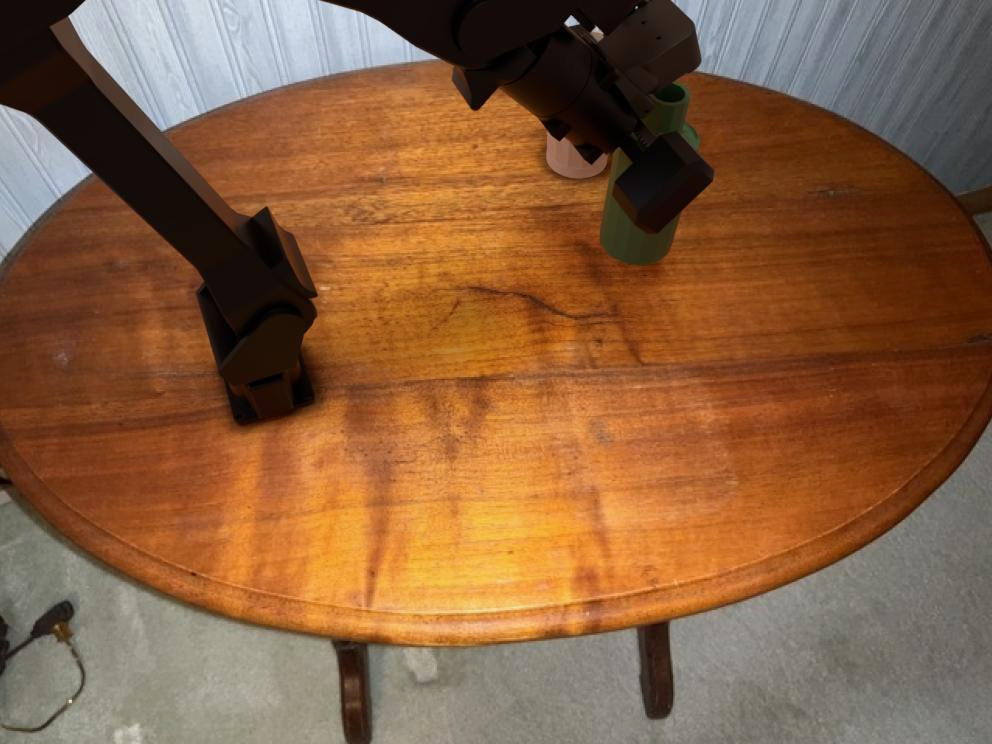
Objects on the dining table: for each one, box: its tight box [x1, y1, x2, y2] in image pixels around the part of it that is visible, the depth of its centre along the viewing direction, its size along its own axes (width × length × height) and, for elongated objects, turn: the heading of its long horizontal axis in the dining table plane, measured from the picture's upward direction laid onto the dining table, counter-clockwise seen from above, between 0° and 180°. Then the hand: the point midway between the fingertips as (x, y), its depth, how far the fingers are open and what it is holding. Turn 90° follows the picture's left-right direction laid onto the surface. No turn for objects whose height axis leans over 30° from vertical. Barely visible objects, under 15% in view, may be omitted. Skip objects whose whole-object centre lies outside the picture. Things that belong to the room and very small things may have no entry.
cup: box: [545, 29, 609, 180], centre depth 80 cm, size 8×8×12 cm
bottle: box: [598, 80, 701, 266], centre depth 67 cm, size 6×6×15 cm
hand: (665, 167), depth 67 cm, fingers closed on bottle, 6 cm apart
